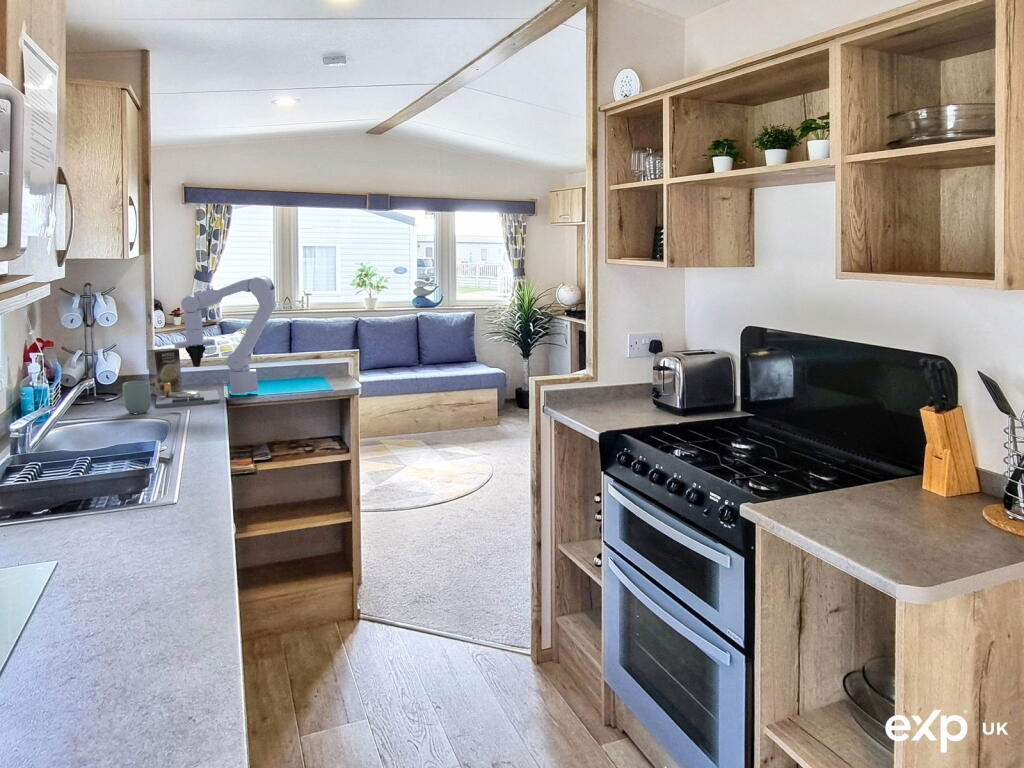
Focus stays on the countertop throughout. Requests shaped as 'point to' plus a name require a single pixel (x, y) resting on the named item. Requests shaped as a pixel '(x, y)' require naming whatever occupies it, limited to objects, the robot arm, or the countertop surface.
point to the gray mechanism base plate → (187, 399)
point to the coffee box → (164, 370)
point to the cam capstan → (179, 394)
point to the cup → (137, 396)
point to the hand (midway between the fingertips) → (196, 366)
